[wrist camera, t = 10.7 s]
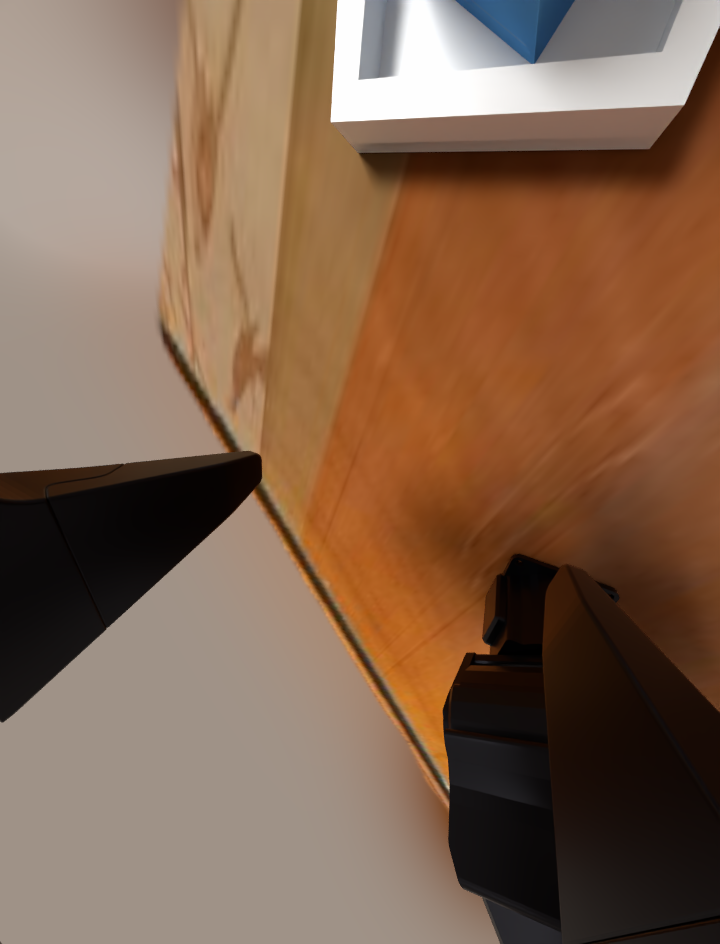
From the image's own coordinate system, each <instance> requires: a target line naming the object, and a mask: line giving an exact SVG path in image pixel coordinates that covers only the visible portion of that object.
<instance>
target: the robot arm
mask: <svg viewBox="0 0 720 944" xmlns="http://www.w3.org/2000/svg"><path fill="white" fill-rule="evenodd" d="M261 479H262V459H261V456H260V455H259V454H257V453H254V452H251V451H242V452H232V453H222V454H212V455H203V456H193V457H183V458H174V459H163V460H154V461H144V462H134V463H126V464H115V465H104V466H94V467H83V468H82V467H81V468H68V469H55V470H40V471H24V472H9V473H0V722H4V721H6V720H7V719H8V718H10V717H11V716H12V715H13V714H14V713H15V712H17V711H18V710H19V709H20V708H21V707H22V706H23V705H24V704H25V703H27V702H28V701H29V700H30V699H31V698H32V697H33V696H34V695H35V694H36V693H37V692H38V691H40V690H41V689H42V688H43V687H44V686H45V685H46V684H47V683H48V682H49V681H51V680H52V679H53V678H54V677H55V676H56V675H57V674H58V673H59V672H60V671H61V670H62V669H64V668H65V667H66V666H67V665H68V664H69V663H70V662H71V661H72V660H73V659H75V658H76V657H77V656H78V655H79V654H80V653H81V652H82V651H83V650H84V649H86V648H87V647H88V646H89V645H90V644H91V643H92V642H93V641H94V640H95V639H96V638H97V637H99V636H100V635H101V634H102V633H103V632H104V631H105V630H106V628H108V627H109V626H110V625H111V624H112V623H114V622H115V621H116V620H117V619H118V618H119V617H120V616H121V615H122V614H123V613H125V612H126V610H128V609H129V608H130V607H131V606H132V605H133V604H134V603H135V602H137V601H138V600H139V599H140V598H141V597H142V596H143V595H144V594H145V593H146V592H147V591H149V590H150V589H151V588H152V587H153V586H154V585H155V584H156V583H157V582H158V581H160V580H161V579H162V578H163V577H164V576H165V575H166V574H167V573H168V572H169V571H170V570H172V569H173V568H174V567H175V566H176V565H177V564H178V563H179V562H180V561H181V560H182V559H184V557H186V556H187V555H188V554H189V553H190V552H191V551H192V550H193V549H194V548H196V546H198V545H199V544H200V543H201V542H202V541H203V540H204V539H205V538H207V537H208V536H209V535H210V534H211V533H212V532H213V531H214V530H215V529H216V528H217V527H219V526H220V525H221V524H222V523H223V522H224V521H225V520H226V519H227V518H228V517H229V516H230V515H231V514H232V513H233V512H234V511H235V510H236V509H237V508H238V507H239V506H240V505H241V503H242V502H243V501H244V500H245V499H246V498H247V497H248V496H249V495H250V493H251V492H252V491H253V490H254V489H255V488H256V487H257V486H258V484H259V483H260V482H261ZM517 560H520V561H522V562H520V563H519V562H516V561H517ZM608 594H612V595H608ZM618 600H619V595H618V593H617V591H616V590H615V589H614V588H612V587H610V586H607V585H604V584H601V583H599V582H596V581H594V580H593V579H592V578H591V577H590V576H589V575H588V573H587V572H586V571H584V570H583V569H580V568H577V567H574V566H571V565H569V564H564V565H562V566H561V567H560V568H557V567H555V566H552V565H549V564H546V563H544V562H541V561H538V560H535V559H533V558H530V557H527V556H524V555H521V554H515V555H513V556H512V557H511V559H510V561H509V563H508V565H507V567H506V569H505V571H504V573H503V575H501V574H499V575H497V576H496V578H495V580H494V582H493V584H492V586H491V588H490V590H489V592H488V594H487V596H486V602H485V613H484V624H483V636H482V639H483V641H484V643H486V644H488V645H490V654H476V653H466V655H465V657H464V659H463V662H462V664H461V666H460V668H459V671H458V673H457V675H456V677H455V680H454V682H453V684H452V686H451V689H450V691H449V693H448V696H447V699H446V702H445V705H444V707H443V728H444V740H445V747H446V751H447V756H448V766H449V781H450V805H449V837H448V840H449V848H450V852H451V856H452V859H453V863H454V867H455V871H456V874H457V878H458V881H459V883H460V885H461V887H462V888H463V889H465V890H467V891H469V892H471V893H474V894H476V895H478V896H480V897H482V898H483V901H484V903H485V906H486V909H487V911H488V914H489V916H490V918H491V921H492V924H493V926H494V929H495V931H496V934H497V936H498V939H499V941H500V944H720V712H719V711H718V710H717V709H716V708H715V707H714V706H713V705H712V704H711V703H710V702H709V701H708V700H707V699H706V698H705V697H704V696H703V694H702V693H701V692H700V691H699V690H698V689H697V688H696V687H695V686H694V685H693V684H692V683H691V682H690V681H689V680H688V679H687V678H686V677H685V676H684V674H683V673H682V672H681V671H680V670H679V669H678V668H677V667H676V666H675V665H674V664H673V663H672V662H671V661H670V660H669V659H668V658H667V657H666V656H665V654H664V653H663V652H662V651H661V650H660V649H659V648H658V647H657V646H656V645H655V644H654V643H653V642H652V641H651V640H650V639H649V638H648V637H647V636H646V634H645V633H644V632H643V631H642V630H641V629H640V628H639V627H638V626H637V625H636V624H635V623H634V622H633V621H632V620H631V619H630V618H629V617H628V616H627V614H626V613H625V612H624V611H623V610H622V609H621V608H620V607H619V606H618V605H617V604H616V602H617V601H618ZM0 944H1V942H0Z"/></svg>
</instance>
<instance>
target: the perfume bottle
mask: <svg viewBox="0 0 720 944" xmlns="http://www.w3.org/2000/svg"><path fill="white" fill-rule="evenodd" d="M455 1H456V2H458V3H459V4H460V5H461V6H462V7H464V8H465V9H466V10H467V11H468V12H470V13H471V14H472V15H473V16H474V17H476V18H477V19H478V20H479V21H480V22H482V23H483V24H484V25H485V26H486V27H488V28H489V29H490V30H491V31H492V32H493V33H495V34H496V35H497V36H498V37H499V38H501V39H502V40H503V41H504V42H505V43H507V44H508V45H509V46H510V47H511V48H513V49H514V50H515V51H516V52H517V53H519V54H520V55H521V56H522V57H523V58H525V59H526V60H527V61H528V62H529V63H531V64H535V63H536V61H537V60H538V58H539V57H540V55H541V53H542V52H543V50H544V49H545V47H546V45H547V44H548V42H549V41H550V39H551V37H552V36H553V34H554V33H555V31H556V29H557V28H558V26H559V25H560V23H561V21H562V20H563V18H564V17H565V15H566V14H567V12H568V10H569V9H570V7H571V6H572V4H573V2H574V1H575V0H455Z"/></svg>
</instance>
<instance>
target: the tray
mask: <svg viewBox="0 0 720 944" xmlns="http://www.w3.org/2000/svg"><path fill="white" fill-rule="evenodd" d="M719 26H720V0H575V1H574V2H573V4H572V6H571V7H570V9H569V10H568V12H567V14H566V15H565V17H564V18H563V20H562V21H561V23H560V25H559V26H558V28H557V29H556V31H555V33H554V34H553V36H552V37H551V39H550V41H549V42H548V44H547V45H546V47H545V49H544V50H543V52H542V53H541V55H540V57H539V58H538V60H537V61H536V63H535V64H531V63H529V62H528V61H527V60H526V59H525V58H523V57H522V56H521V55H520V54H519V53H517V52H516V51H515V50H514V49H513V48H511V47H510V46H509V45H508V44H507V43H505V42H504V41H503V40H502V39H501V38H499V37H498V36H497V35H496V34H495V33H493V32H492V31H491V30H490V29H489V28H488V27H486V26H485V25H484V24H483V23H482V22H480V21H479V20H478V19H477V18H476V17H474V16H473V15H472V14H471V13H470V12H468V11H467V10H466V9H465V8H464V7H462V6H461V5H460V4H459V3H458V2H456V1H455V0H338V5H337V23H336V40H335V58H334V75H333V92H332V110H331V123H332V124H333V125H334V126H335V127H336V129H337V130H338V131H339V132H340V133H341V134H342V135H343V136H344V137H345V139H346V140H347V141H348V142H349V143H350V144H351V145H352V146H353V148H354V149H355V150H356V151H357V152H358V153H387V152H464V151H540V150H617V149H650V147H651V146H652V145H653V144H654V142H655V141H656V140H657V139H658V137H659V136H660V135H661V134H662V132H663V131H664V130H665V129H666V127H667V126H668V125H669V124H670V122H671V121H672V120H673V119H674V117H675V116H676V115H677V114H678V112H679V111H680V110H681V109H682V107H683V106H684V105H685V102H686V100H687V98H688V96H689V93H690V91H691V89H692V87H693V84H694V82H695V80H696V78H697V76H698V73H699V71H700V69H701V67H702V64H703V62H704V60H705V58H706V55H707V53H708V51H709V49H710V46H711V44H712V42H713V40H714V38H715V35H716V33H717V31H718V29H719Z"/></svg>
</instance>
